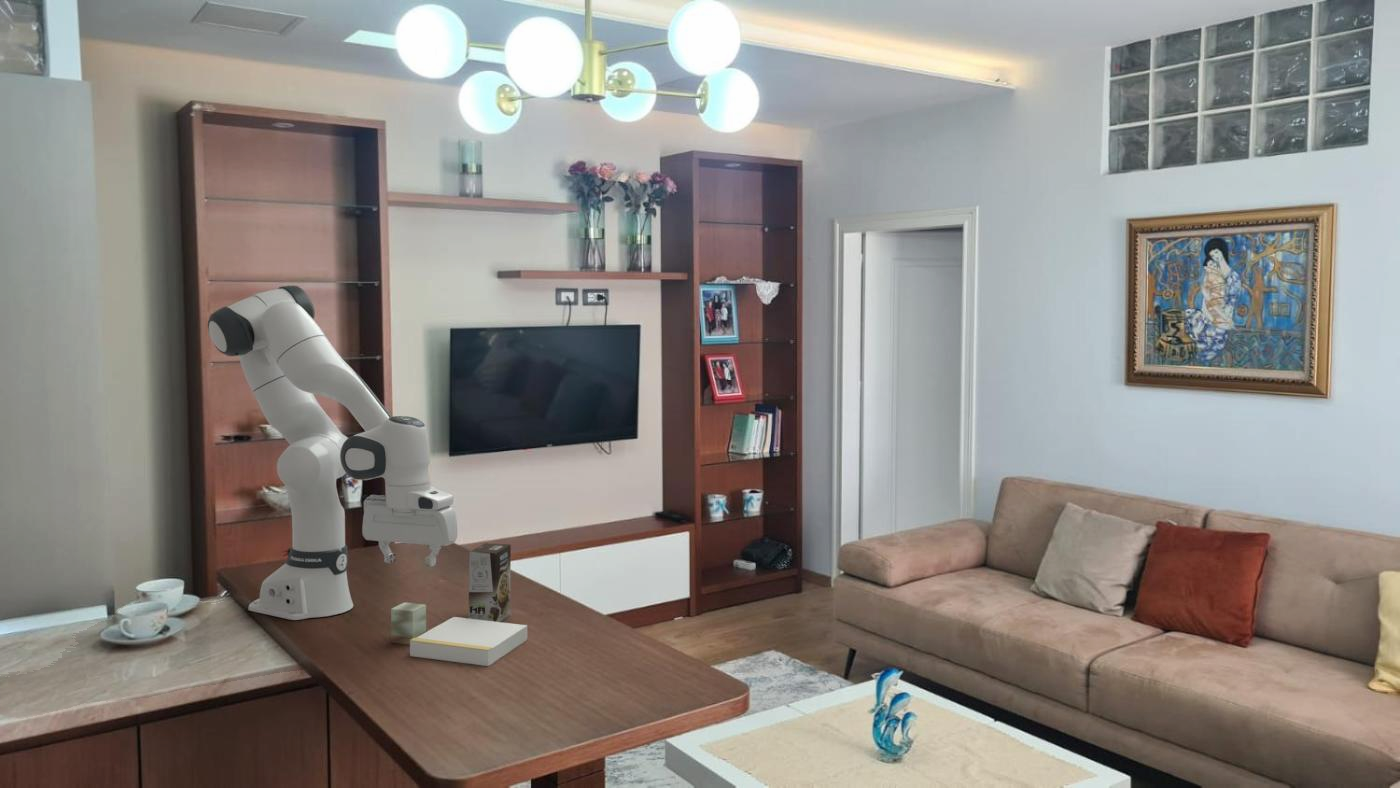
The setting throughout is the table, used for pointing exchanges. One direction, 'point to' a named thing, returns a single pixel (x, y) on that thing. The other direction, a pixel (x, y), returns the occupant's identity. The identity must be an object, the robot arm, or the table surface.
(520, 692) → the table surface
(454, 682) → the table surface
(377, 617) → the table surface
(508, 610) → the coffee box
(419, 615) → the pale green block
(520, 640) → the block
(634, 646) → the table surface
